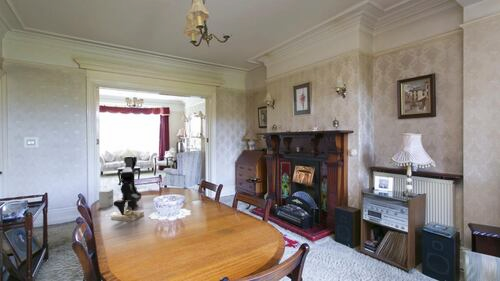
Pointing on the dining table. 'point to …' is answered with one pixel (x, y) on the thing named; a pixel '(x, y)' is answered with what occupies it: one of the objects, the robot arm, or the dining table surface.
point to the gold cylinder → (127, 212)
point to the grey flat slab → (113, 214)
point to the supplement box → (105, 198)
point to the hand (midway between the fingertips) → (128, 212)
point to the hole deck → (129, 218)
